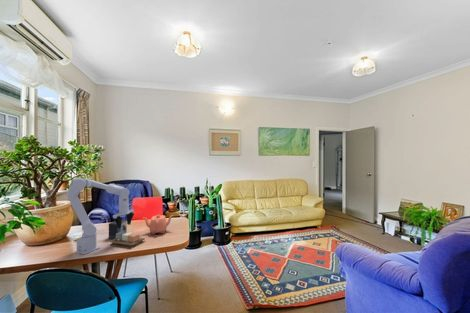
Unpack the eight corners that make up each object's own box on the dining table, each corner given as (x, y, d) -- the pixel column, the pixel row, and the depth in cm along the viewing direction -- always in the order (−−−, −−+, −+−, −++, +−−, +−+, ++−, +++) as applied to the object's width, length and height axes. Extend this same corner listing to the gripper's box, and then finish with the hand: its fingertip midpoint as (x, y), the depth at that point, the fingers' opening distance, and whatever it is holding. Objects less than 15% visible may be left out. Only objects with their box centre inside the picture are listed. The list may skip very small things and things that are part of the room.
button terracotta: (133, 242, 131) (133, 236, 131) (128, 241, 132) (128, 235, 132) (139, 239, 135) (139, 234, 135) (134, 238, 136) (134, 233, 136)
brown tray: (130, 248, 127) (130, 244, 127) (109, 244, 134) (109, 241, 134) (144, 241, 137) (144, 238, 137) (124, 238, 144) (124, 234, 144)
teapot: (142, 233, 152) (142, 216, 152) (161, 227, 166) (161, 211, 166) (155, 237, 144) (155, 219, 144) (174, 230, 158) (174, 213, 158)
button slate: (120, 239, 135) (120, 234, 135) (115, 239, 136) (115, 233, 136) (126, 237, 139) (126, 232, 139) (121, 236, 140) (121, 231, 140)
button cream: (127, 241, 133) (127, 235, 133) (122, 240, 134) (121, 234, 134) (132, 238, 137) (132, 233, 137) (127, 237, 138) (127, 232, 138)
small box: (116, 239, 142) (116, 224, 142) (108, 238, 144) (107, 223, 144) (127, 233, 153) (127, 219, 153) (119, 233, 154) (119, 219, 154)
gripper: (118, 208, 131) (119, 230, 131) (137, 203, 145) (137, 223, 145) (110, 207, 134) (111, 229, 134) (129, 203, 147) (129, 222, 147)
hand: (124, 226), depth 139 cm, fingers open, 7 cm apart
